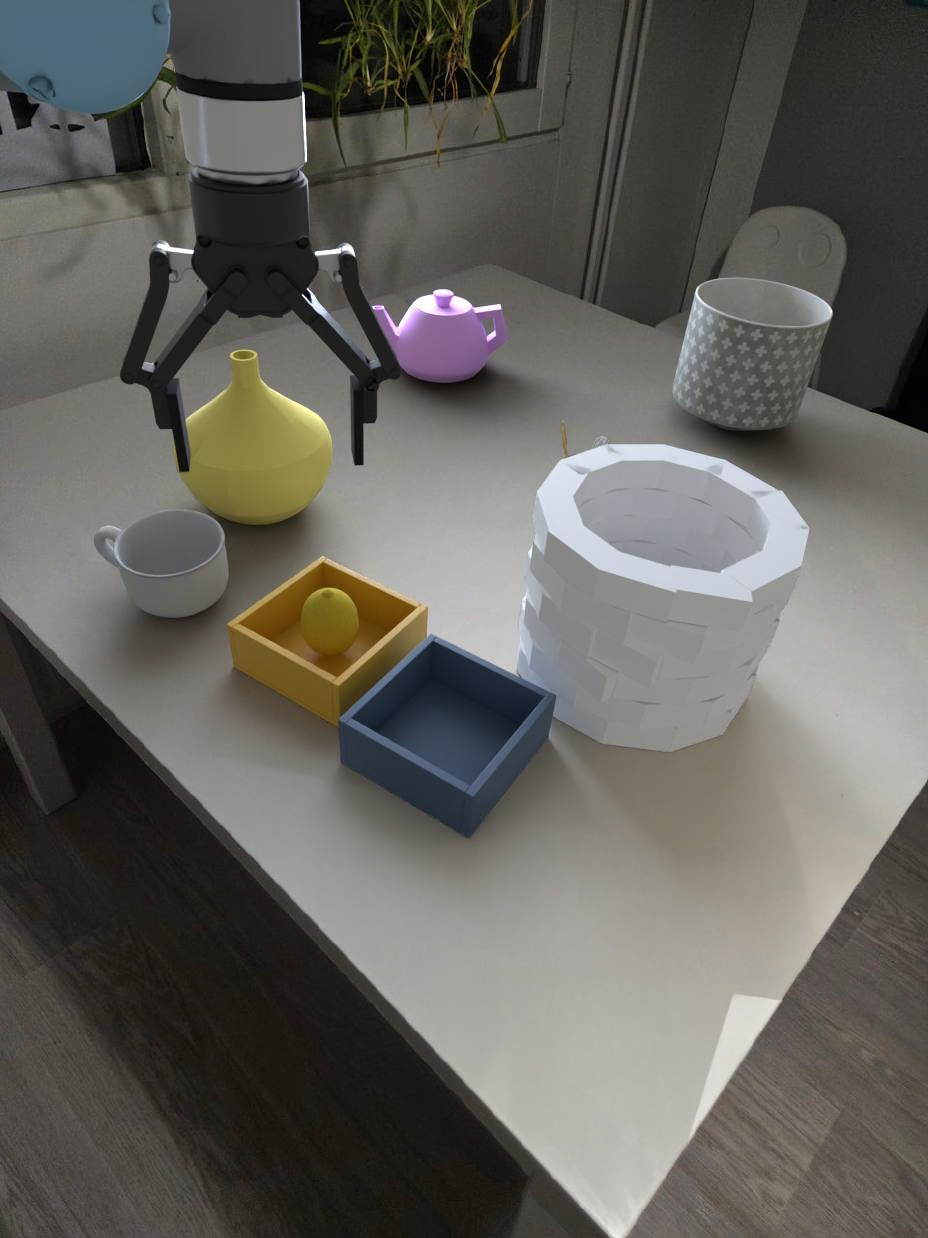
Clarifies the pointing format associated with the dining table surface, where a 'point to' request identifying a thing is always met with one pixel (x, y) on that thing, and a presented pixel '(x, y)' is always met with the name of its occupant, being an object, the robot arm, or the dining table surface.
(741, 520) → the white brick well
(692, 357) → the planter
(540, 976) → the dining table surface
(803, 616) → the dining table surface
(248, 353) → the vase
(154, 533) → the teacup
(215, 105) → the robot arm
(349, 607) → the lemon
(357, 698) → the yellow bin
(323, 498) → the dining table surface
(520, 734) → the blue bin
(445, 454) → the dining table surface
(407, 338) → the teapot
